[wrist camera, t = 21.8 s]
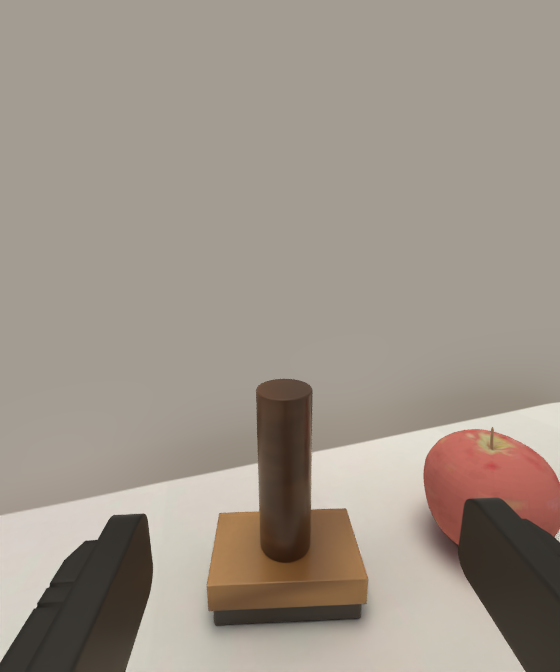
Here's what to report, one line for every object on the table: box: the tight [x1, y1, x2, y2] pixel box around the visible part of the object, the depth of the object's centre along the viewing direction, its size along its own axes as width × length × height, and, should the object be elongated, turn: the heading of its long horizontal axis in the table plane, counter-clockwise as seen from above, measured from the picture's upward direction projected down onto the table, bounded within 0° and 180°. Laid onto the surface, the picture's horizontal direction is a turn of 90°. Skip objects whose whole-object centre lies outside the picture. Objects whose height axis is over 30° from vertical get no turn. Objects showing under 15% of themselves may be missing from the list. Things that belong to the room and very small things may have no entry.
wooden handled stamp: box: [207, 379, 368, 625], centre depth 19 cm, size 8×5×12 cm, turn 92°
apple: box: [424, 427, 560, 545], centre depth 23 cm, size 7×7×8 cm
